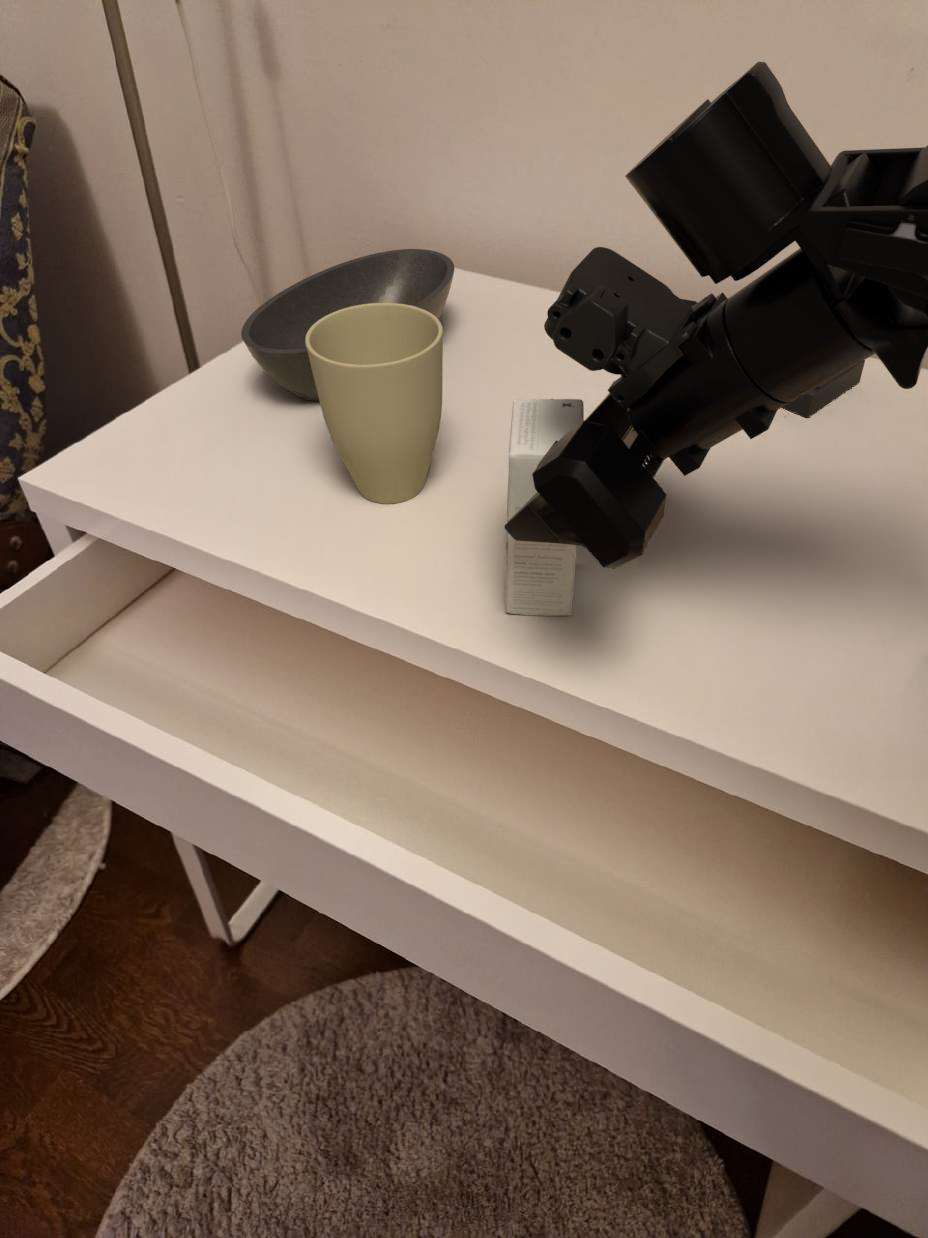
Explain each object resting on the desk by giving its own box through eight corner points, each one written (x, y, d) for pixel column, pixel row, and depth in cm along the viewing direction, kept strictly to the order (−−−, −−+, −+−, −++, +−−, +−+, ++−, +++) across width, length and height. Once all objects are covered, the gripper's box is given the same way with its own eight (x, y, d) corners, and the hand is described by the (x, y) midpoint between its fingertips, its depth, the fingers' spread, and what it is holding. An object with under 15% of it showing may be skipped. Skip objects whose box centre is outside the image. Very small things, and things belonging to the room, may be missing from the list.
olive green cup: (484, 470, 72) (479, 318, 64) (395, 537, 67) (377, 380, 59) (377, 425, 77) (360, 279, 69) (286, 483, 72) (256, 332, 64)
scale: (859, 382, 79) (868, 350, 77) (807, 418, 75) (814, 386, 74) (765, 346, 84) (771, 316, 82) (712, 379, 80) (717, 348, 79)
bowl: (220, 397, 82) (204, 329, 78) (393, 301, 94) (386, 237, 90) (322, 442, 76) (310, 370, 72) (492, 333, 88) (490, 266, 84)
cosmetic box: (509, 556, 65) (507, 394, 56) (577, 557, 64) (584, 395, 56) (504, 618, 60) (500, 453, 52) (576, 620, 60) (584, 454, 52)
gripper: (713, 145, 50) (517, 313, 61) (583, 294, 38) (368, 469, 49) (837, 316, 52) (627, 446, 64) (752, 505, 40) (511, 624, 52)
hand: (542, 488), depth 57 cm, fingers open, 9 cm apart
